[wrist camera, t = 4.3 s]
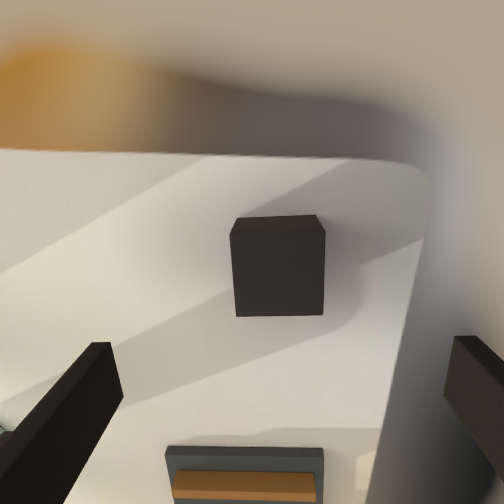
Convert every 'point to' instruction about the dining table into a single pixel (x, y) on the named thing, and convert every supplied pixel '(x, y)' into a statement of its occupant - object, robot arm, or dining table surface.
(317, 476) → the base pad
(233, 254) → the black pad
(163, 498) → the dining table surface
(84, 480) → the dining table surface
